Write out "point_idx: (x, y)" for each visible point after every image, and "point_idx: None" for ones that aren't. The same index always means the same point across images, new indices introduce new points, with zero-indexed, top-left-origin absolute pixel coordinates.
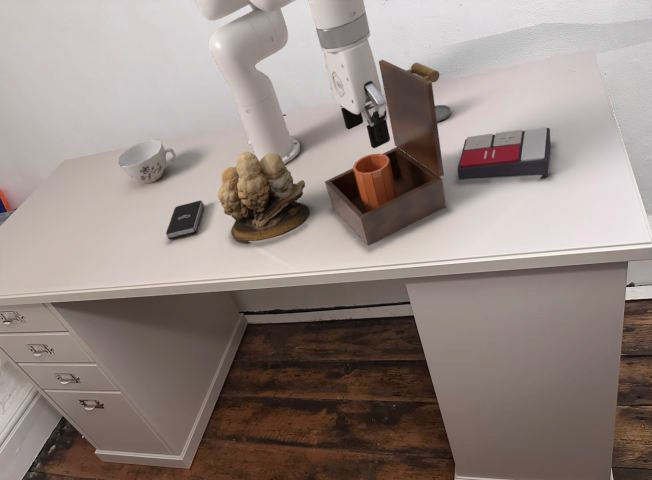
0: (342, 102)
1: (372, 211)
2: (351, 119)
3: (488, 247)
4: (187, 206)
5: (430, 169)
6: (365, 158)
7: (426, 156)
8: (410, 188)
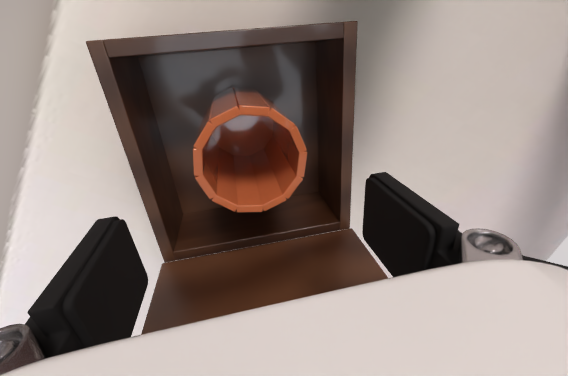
0: (300, 360)
1: (107, 87)
2: (383, 217)
3: (38, 235)
4: None
5: (199, 258)
6: (297, 160)
7: (207, 277)
8: None
